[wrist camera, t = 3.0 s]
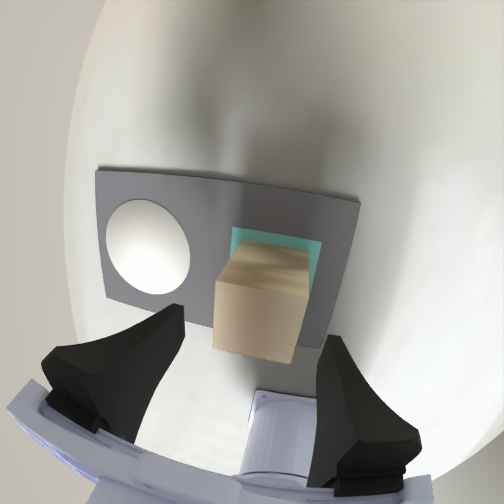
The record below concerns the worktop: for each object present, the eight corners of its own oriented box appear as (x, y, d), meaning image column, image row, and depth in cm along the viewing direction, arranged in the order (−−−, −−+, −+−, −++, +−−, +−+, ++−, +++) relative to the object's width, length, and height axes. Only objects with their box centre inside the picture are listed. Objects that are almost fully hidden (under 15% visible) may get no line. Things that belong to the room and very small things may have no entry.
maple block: (308, 250, 18) (308, 298, 13) (296, 306, 20) (290, 364, 14) (242, 239, 19) (215, 280, 13) (236, 295, 20) (212, 347, 15)
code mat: (359, 202, 17) (360, 203, 16) (319, 345, 21) (319, 349, 21) (98, 170, 19) (94, 170, 19) (108, 295, 24) (106, 297, 24)
